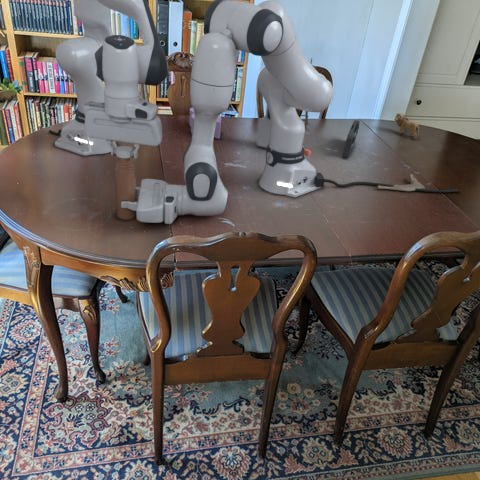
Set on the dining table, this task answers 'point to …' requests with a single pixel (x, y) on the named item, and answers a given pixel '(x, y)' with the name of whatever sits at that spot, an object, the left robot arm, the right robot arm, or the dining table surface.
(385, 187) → the jawbone
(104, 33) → the left robot arm
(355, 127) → the handheld gaming console
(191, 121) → the clip
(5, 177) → the dining table surface
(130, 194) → the bottle
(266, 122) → the electronic device
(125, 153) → the cap
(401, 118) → the lion figurine
